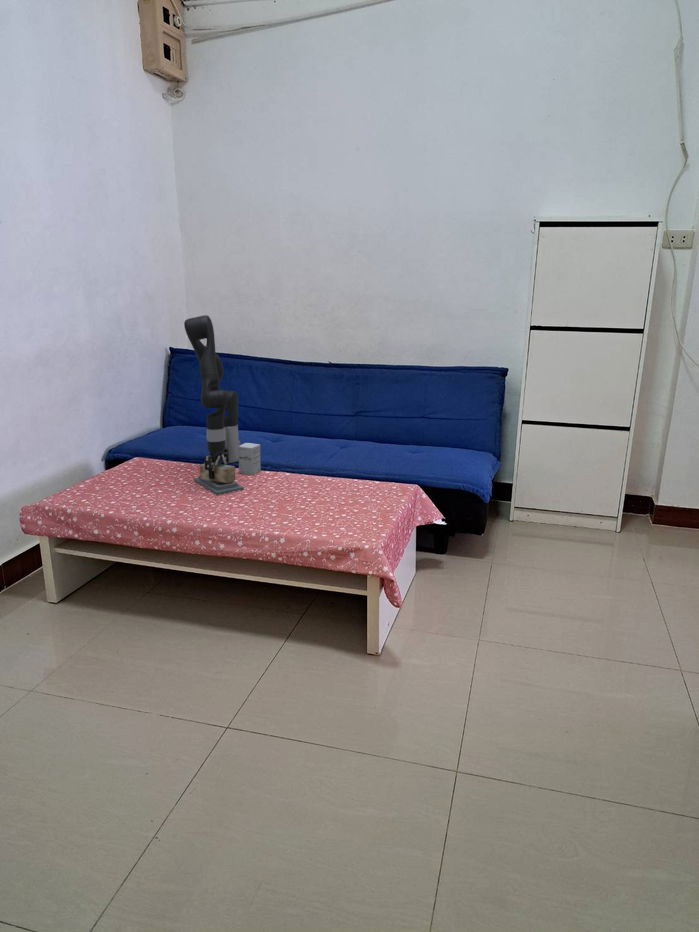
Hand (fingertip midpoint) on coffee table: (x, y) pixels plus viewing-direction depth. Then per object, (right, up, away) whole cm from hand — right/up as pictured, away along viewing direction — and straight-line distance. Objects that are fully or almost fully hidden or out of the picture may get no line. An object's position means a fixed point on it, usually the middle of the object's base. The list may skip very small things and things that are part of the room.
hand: (217, 476), depth 275 cm
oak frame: (0, -1, 0) cm, 1 cm away
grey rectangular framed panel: (0, -4, +1) cm, 4 cm away
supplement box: (+11, +1, +20) cm, 22 cm away
